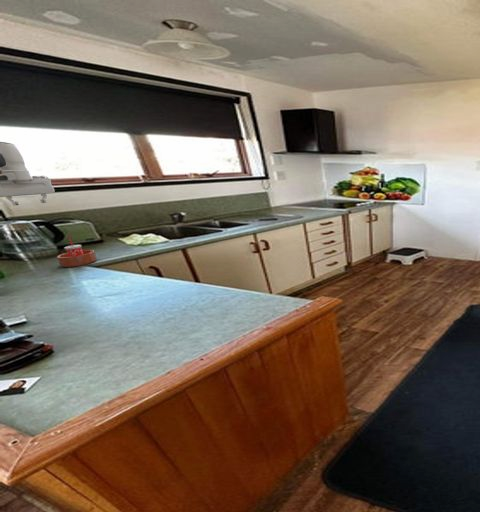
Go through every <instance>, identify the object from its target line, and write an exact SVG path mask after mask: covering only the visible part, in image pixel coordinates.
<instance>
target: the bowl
mask: <svg viewBox="0 0 480 512" xmlns="http://www.w3.org/2000/svg"><path fill="white" fill-rule="evenodd" d="M82 251H83V255H78V256H72V257H69V255H68V253H67V252H66V253H65V252H64V253H62V254H58V255H57V256H56V258H57V261H58V263H59V266H60V267H62V268H63V267H64V268H76V267H80V266H86V265H90V264H93V263H94V262H96V261H97V260H98V258H97V255H96V252H95V250H93V249H82Z"/></svg>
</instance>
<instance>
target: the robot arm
mask: <svg viewBox="0 0 480 512" xmlns="http://www.w3.org/2000/svg"><path fill="white" fill-rule="evenodd" d="M0 172H1V173H0V198H5V199H6V200H7V201H9V202H11V204H12V205H13V206H20V204H19V201H15V200H13V197H17V196H18V197H19V196H34V195H40V196H41V199H39V201H40V203H41V204H46V203H47V200H46V199H47V197H48V195H47V194H55V191H56V190H55V188H54V186H53V185H52V180H51V178H50V177H48V176H45V175H32V173H31V170H30V168H29V166H27V161H26V158H25V157H24V154H23V152H22V151H21V149H20V148H19V147H18V145H16V144H14V143H10V142H6V141H0Z"/></svg>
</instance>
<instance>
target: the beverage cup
mask: <svg viewBox="0 0 480 512" xmlns="http://www.w3.org/2000/svg"><path fill="white" fill-rule="evenodd" d="M68 240H69V242H70V245H67V246H65V247H63V249H64V250H65V251H66V253H68V255H69V257H72V256H78V255H83V251H82V250H83V248H82V247H83V246H82V244H73V242H72V239H71V237H70V236H68Z"/></svg>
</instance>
